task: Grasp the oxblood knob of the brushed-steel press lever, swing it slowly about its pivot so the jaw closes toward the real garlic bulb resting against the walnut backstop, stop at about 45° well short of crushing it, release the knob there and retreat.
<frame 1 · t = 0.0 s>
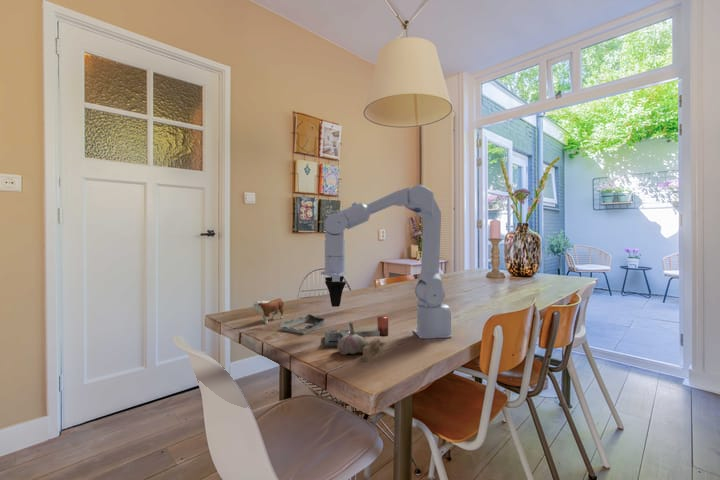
hand: (335, 303, 94), 10 cm above the table, tool pointing down, fingers open, 7 cm apart
lever: (358, 327, 90), point 4 cm above the table, hinge at 0.0°
backstop: (371, 355, 81), on the table
garlic bulb: (352, 353, 83), on the table
bull figurine: (269, 322, 113), on the table
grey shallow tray: (305, 329, 106), on the table
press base: (347, 343, 89), on the table
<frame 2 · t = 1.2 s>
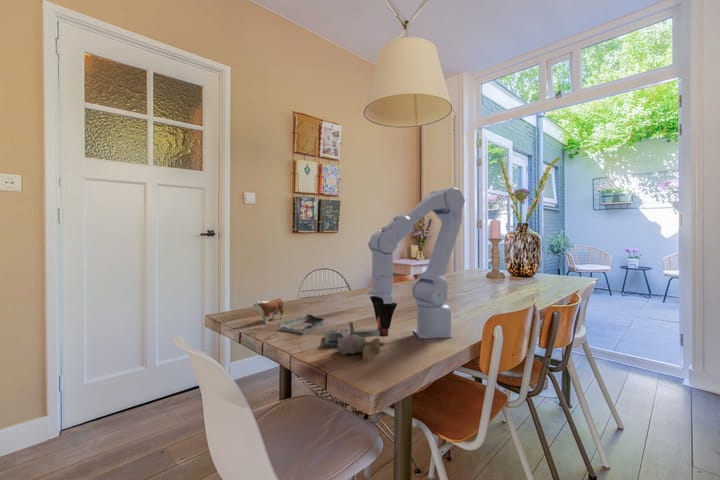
hand: (382, 324, 90), 5 cm above the table, tool pointing down, fingers open, 7 cm apart
nothing on the table moved.
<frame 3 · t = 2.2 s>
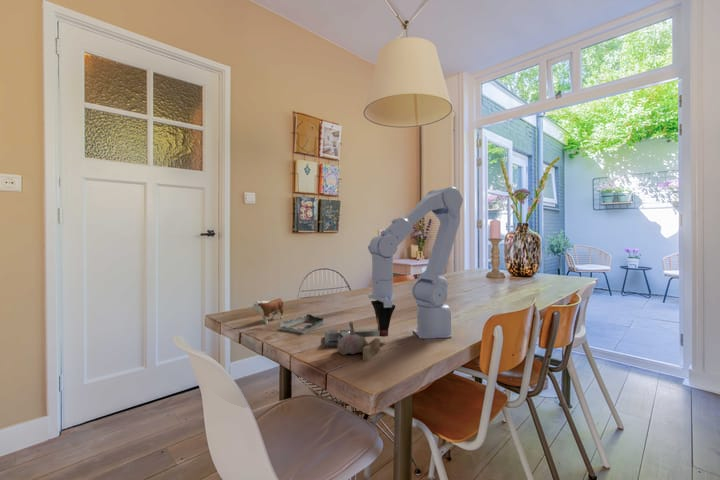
hand: (382, 328, 90), 4 cm above the table, tool pointing down, fingers closed on lever, 3 cm apart
lever: (358, 327, 90), point 4 cm above the table, hinge at 0.0°, touching gripper
everything else where it was.
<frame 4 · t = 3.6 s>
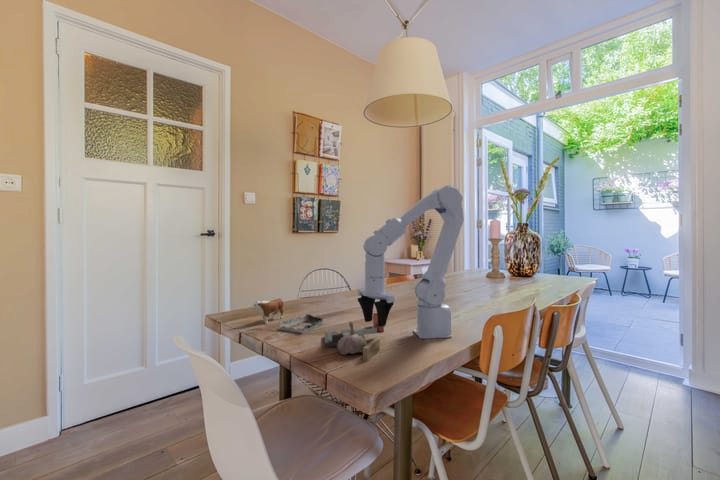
hand: (375, 323, 95), 4 cm above the table, tool pointing down, fingers open, 6 cm apart
lever: (357, 326, 91), point 4 cm above the table, hinge at 20.2°, touching gripper
everything else where it was.
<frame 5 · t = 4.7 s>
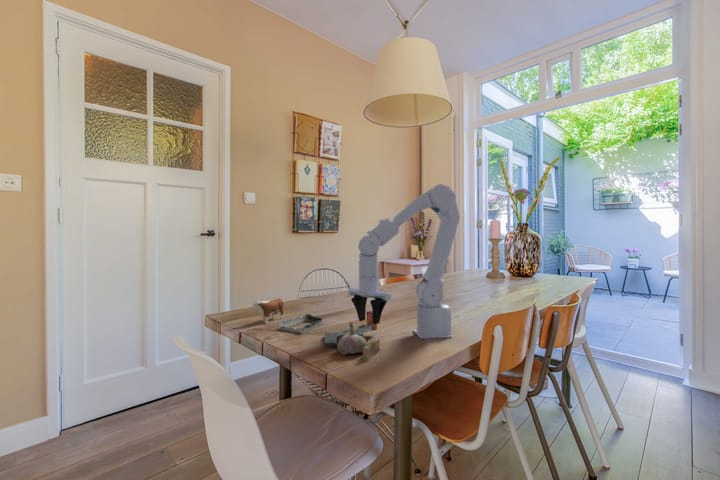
hand: (369, 321, 97), 4 cm above the table, tool pointing down, fingers open, 5 cm apart
lever: (355, 325, 91), point 4 cm above the table, hinge at 38.3°, touching gripper
everything else where it was.
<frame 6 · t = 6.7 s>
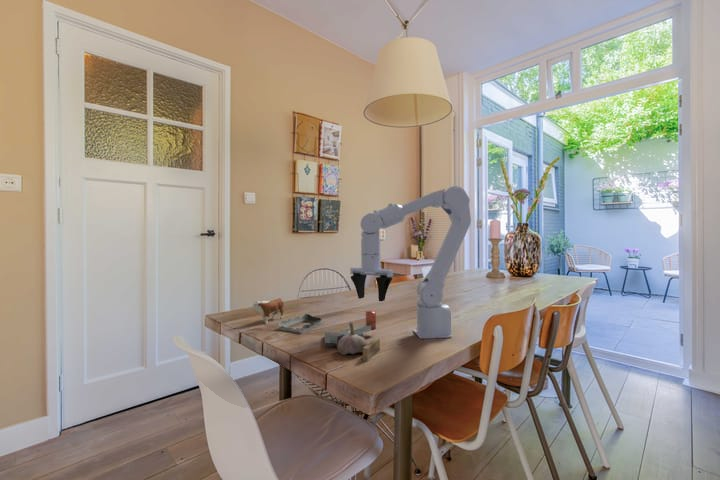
hand: (371, 299, 98), 10 cm above the table, tool pointing down, fingers open, 7 cm apart
lever: (355, 325, 92), point 4 cm above the table, hinge at 40.4°
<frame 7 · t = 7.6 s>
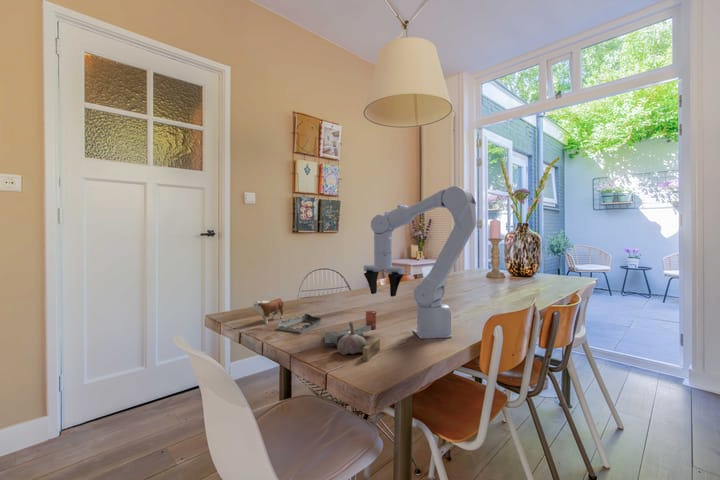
hand: (383, 294, 106), 10 cm above the table, tool pointing down, fingers open, 7 cm apart
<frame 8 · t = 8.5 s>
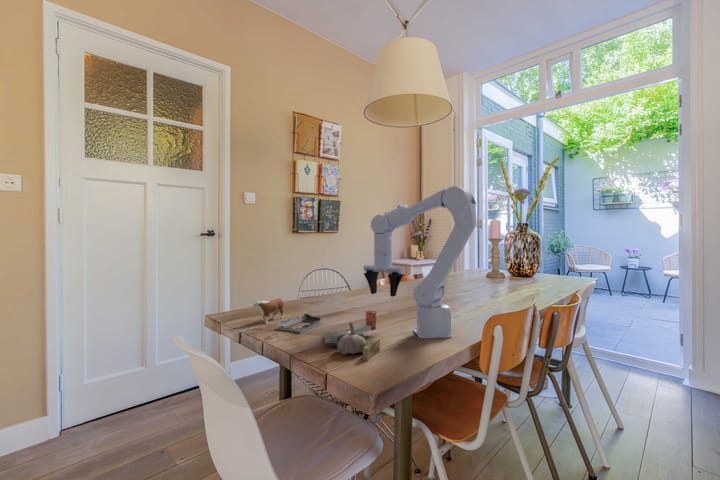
hand: (383, 294, 106), 10 cm above the table, tool pointing down, fingers open, 7 cm apart
at the end: lever at +40° (first picture: +0°); garlic bulb moved 0.3 cm from its start; the gripper is holding nothing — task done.
